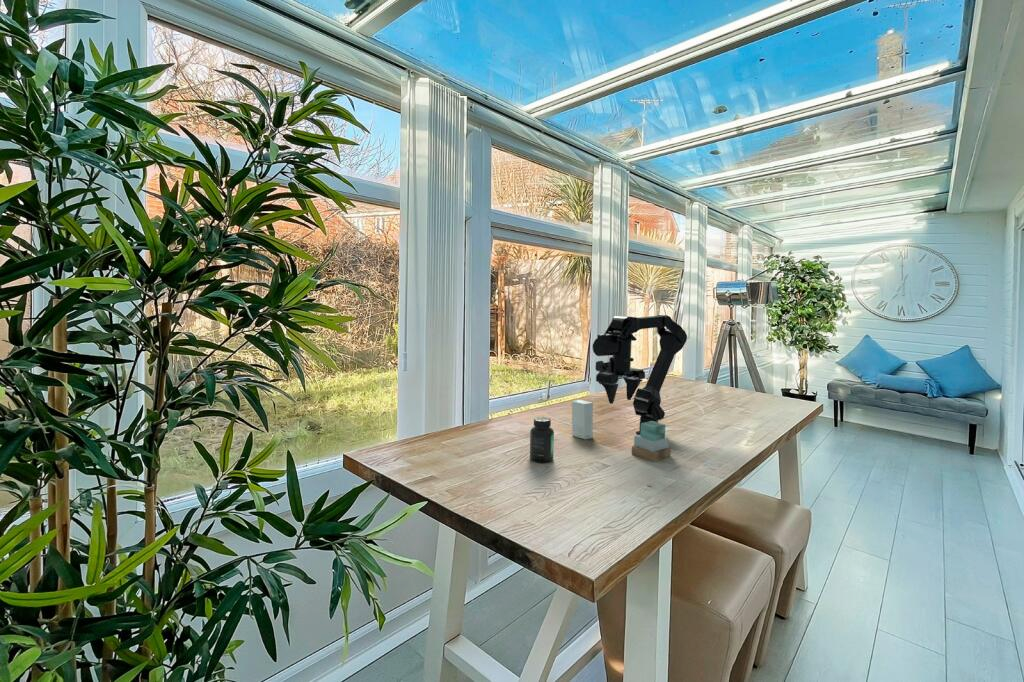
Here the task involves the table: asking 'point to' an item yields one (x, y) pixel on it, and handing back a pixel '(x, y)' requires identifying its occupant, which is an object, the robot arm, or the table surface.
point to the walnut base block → (651, 453)
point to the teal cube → (652, 430)
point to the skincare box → (582, 419)
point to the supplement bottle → (541, 441)
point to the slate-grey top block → (650, 443)
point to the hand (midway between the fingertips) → (620, 401)
